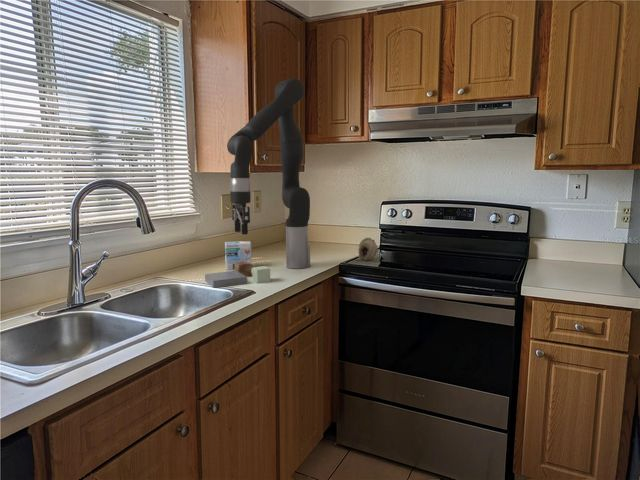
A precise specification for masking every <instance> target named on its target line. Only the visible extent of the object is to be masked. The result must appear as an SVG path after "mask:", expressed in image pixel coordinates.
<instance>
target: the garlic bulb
mask: <svg viewBox="0 0 640 480" xmlns="http://www.w3.org/2000/svg"><path fill="white" fill-rule="evenodd" d="M377 253H378V245H377V243H376V242H375V239H372V237H365V238H363V239H362V240H361V241H360V243H359V245H358V256H357V257H358V258H359V259H360V260H361V259H362V260H364V261H368V260H369V261H370V260H373V259H374V258H375V257H376V255H377Z"/></svg>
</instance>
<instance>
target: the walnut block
mask: <svg viewBox="0 0 640 480" xmlns="http://www.w3.org/2000/svg"><path fill="white" fill-rule="evenodd" d="M234 271H238V272H240V273H241V274H243V275H244V276H246V277H247V278H248V277H253V271H252V268H251V263H249V262H247V261H246V262H236V263H235V269H234Z"/></svg>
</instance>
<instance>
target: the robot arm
mask: <svg viewBox="0 0 640 480" xmlns="http://www.w3.org/2000/svg"><path fill="white" fill-rule="evenodd" d="M304 95H305V86H304V84H303V82H302V81H301V80H300V79H298V78H294V77H293V78H288V79H285V80H282V81H280V82H278V83H277V84H276V85H275V88H274V99H273V100H272V101H271V102H270V103H269V104H267V105H265V106H264V107H263V108H262V109H260V110H259V111H258V112H257V113H256V114H255V115H254V116H253V117H252V118H251V119H249V121H248V122H247V123H246V124H245V126H243V127H242V128H240V129H239V130H238V131H237V132H235V133H234V134H233V135H232V136H231V137H230V138H229V139H228V142H227V143H226V147H227V151H228V153H229V154H230V155H232V156H234V161H233V162H232V163H231V164H230V171H229V172H230V181H229V195H230V197H229V198H230V199H229V201H230V203H231V204H232V206H231V212H232V213H231V215H232V216H231V219H232V221H233V223H234V232H235V233H240V232H241V235H248V233H249V232H248V231H249V228H248V226H249V224H250V223H251V211H250V210H251V209H250V206H247V204H250V203H251V179H250V176H251V175H250V166H251V160H252V157H253V142H254V141H255V142H256V141H257V140H259V139H260V138H261V137H262V136H264V134H265V133H266V132H267V131H268V130H269V128H271V126H273V124H275V122H276V121H277V120H278V129H279V131H278V132H279V147H280V158H281V159H280V160H281V172H282V183H281V184H282V187H281V188H282V189H281V199H282V200H281V201H282V203H283V204H284V206H285V207H286V208H288V209H289V213H288V217H287V218H286V219H285V256H286V258H285V259H286V266H285V267H286V268H287V269H288V268H289V269H297V270H299V269H300V270H301V269H307V268H309V267H311V244H310V243H309V226H308V225H309V221H310V217H311V216H310V215H311V212H310V211H311V197H310V193H309V191H308V190H307V189H306V188H304V187H301V186H300V178H299V177H300V169H301V166H302V162H303V158H304V143H303V141H304V140H303V135H302V133H301V130H300V127H299V126H298V124H297V122H296V118H295V114H294V113H295V112H294V106H295V105H296V104H297V103H299V102H300V101H301V100H302V99H303V97H304Z"/></svg>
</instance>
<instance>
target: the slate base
mask: <svg viewBox="0 0 640 480" xmlns="http://www.w3.org/2000/svg"><path fill="white" fill-rule="evenodd" d="M247 279H248V277H246V276H244V275H243V274H241V273H240V272H238V271H235V270H228V271H221V272H210V273H204V282H206V283H207V284H208V285H209V286H211V287H212V288H214V289H215V288H216V289H217V288H223V287H230V286H232V287H233V286H238V285H247V283H248V282H247Z"/></svg>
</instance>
